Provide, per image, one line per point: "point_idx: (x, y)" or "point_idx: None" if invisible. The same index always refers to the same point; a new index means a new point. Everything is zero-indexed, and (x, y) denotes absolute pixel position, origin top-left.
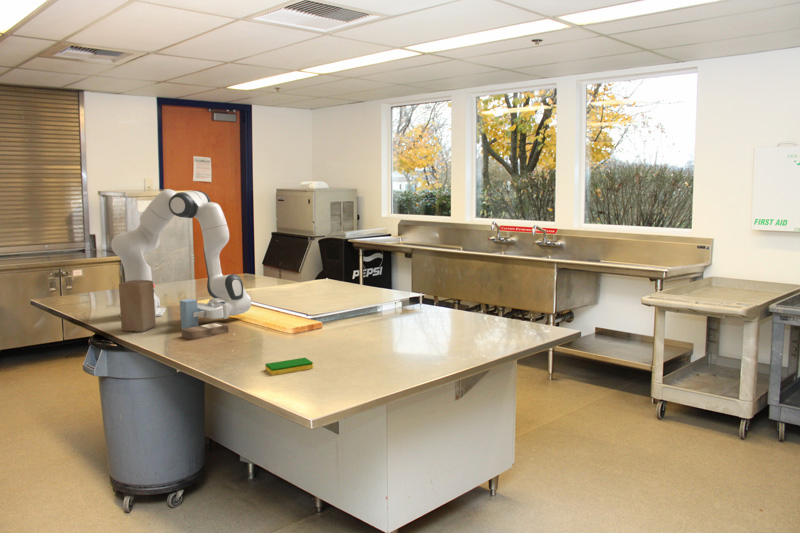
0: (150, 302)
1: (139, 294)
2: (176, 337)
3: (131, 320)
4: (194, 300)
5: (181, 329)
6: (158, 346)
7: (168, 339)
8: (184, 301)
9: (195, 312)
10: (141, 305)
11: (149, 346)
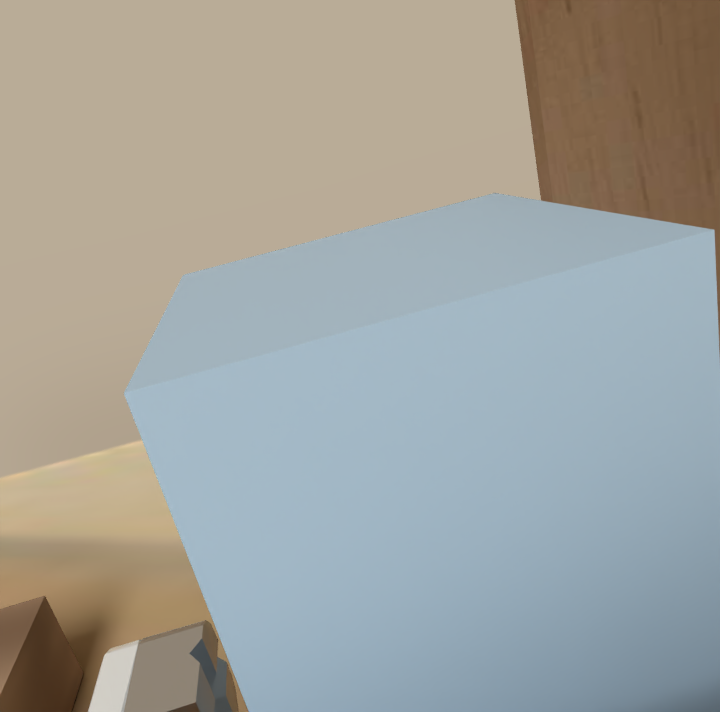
0: (711, 123)
1: (518, 14)
2: (119, 624)
3: None
4: (148, 349)
5: (43, 598)
6: (11, 509)
7: (123, 563)
8: (268, 253)
9: (116, 687)
10: (539, 150)
11: (76, 473)
